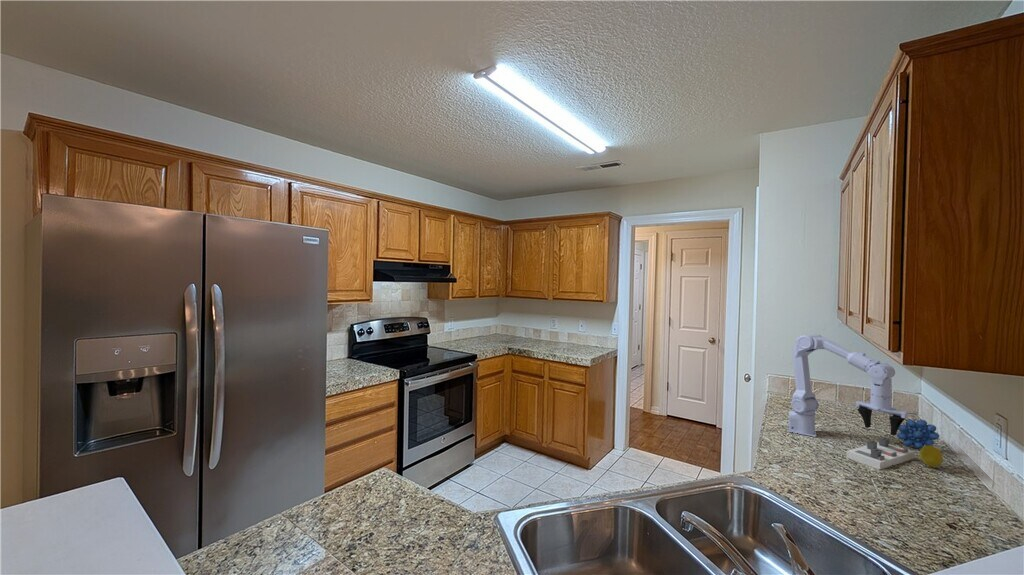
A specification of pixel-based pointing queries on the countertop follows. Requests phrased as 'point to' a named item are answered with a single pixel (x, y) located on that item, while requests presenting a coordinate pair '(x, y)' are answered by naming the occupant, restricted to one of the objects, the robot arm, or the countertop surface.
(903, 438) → the grapes
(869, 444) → the switch middle
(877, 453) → the switch near
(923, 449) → the lemon
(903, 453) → the switch panel
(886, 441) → the switch far
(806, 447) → the countertop surface
